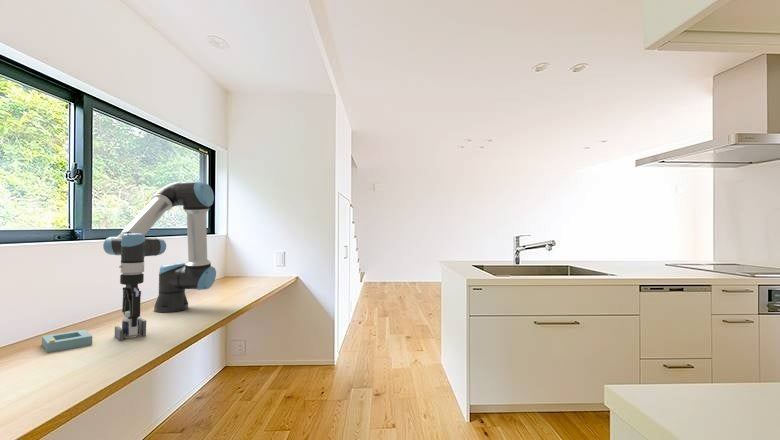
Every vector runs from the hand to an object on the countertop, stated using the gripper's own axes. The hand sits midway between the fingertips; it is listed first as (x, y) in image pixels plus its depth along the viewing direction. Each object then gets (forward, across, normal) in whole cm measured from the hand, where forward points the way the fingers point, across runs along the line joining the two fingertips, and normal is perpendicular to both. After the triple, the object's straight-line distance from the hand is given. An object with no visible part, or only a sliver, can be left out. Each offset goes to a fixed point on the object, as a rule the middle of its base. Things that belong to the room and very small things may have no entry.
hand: (130, 333), depth 145 cm
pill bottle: (+2, 0, 0) cm, 2 cm away
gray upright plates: (+1, 0, 0) cm, 1 cm away
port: (+1, -5, -18) cm, 19 cm away
